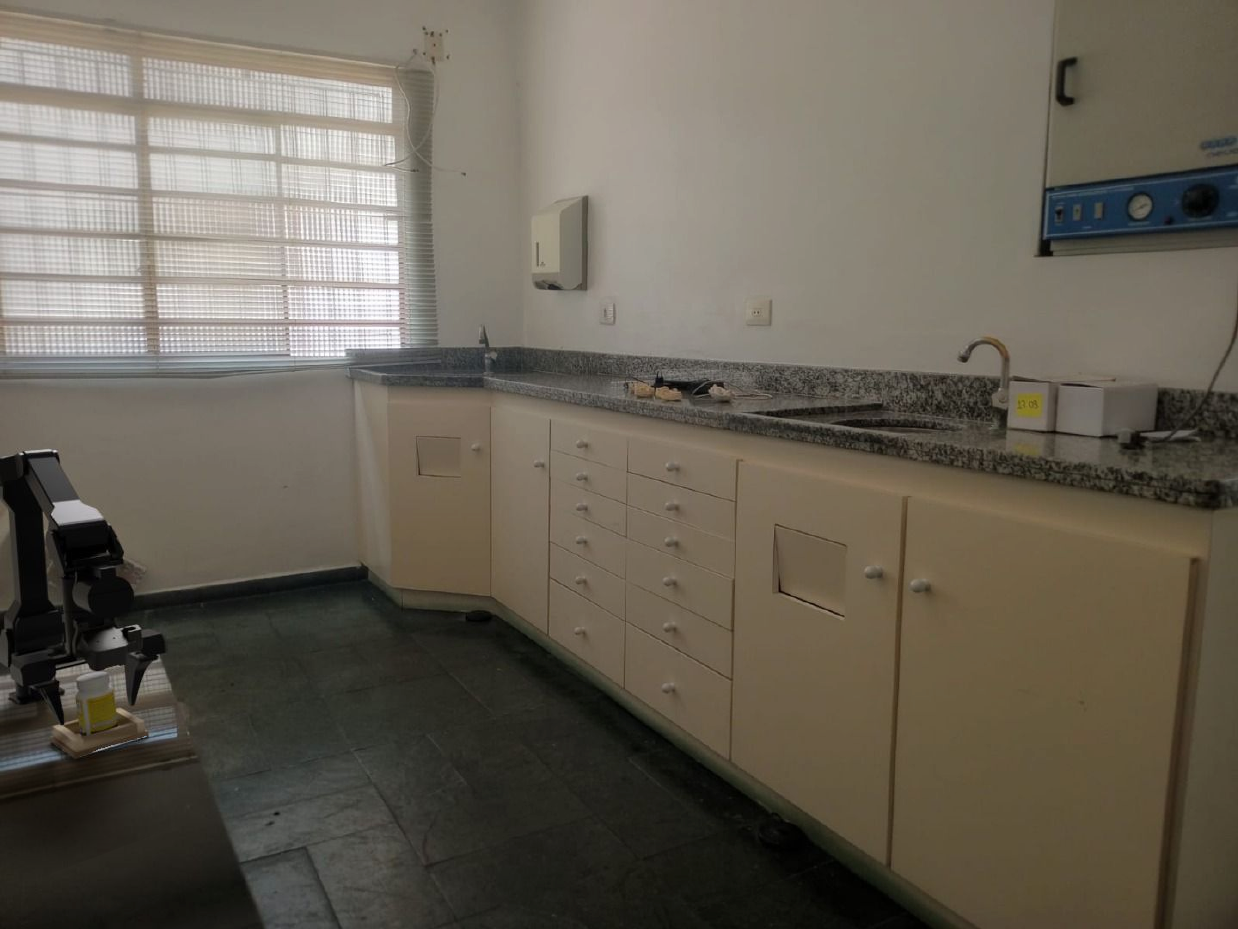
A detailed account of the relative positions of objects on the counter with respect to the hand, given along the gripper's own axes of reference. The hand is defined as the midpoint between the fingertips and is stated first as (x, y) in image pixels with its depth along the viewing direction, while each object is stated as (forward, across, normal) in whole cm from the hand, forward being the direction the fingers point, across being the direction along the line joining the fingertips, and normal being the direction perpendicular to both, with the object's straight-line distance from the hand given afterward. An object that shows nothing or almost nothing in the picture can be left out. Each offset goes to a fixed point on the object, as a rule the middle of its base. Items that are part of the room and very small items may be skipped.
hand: (97, 715), depth 134 cm
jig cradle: (+4, 0, 0) cm, 4 cm away
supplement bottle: (+3, 0, 0) cm, 3 cm away
